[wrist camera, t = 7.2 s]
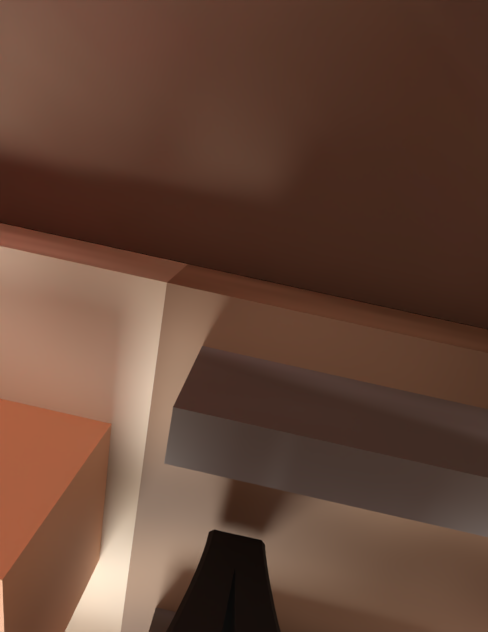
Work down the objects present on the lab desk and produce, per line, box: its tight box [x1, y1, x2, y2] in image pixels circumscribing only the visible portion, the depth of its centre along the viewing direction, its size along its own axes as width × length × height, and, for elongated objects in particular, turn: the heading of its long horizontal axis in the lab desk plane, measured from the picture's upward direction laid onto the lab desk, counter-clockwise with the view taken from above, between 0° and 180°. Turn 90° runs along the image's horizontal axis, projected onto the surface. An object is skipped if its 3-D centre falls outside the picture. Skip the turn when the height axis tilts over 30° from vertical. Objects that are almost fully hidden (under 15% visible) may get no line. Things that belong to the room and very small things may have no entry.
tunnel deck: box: [0, 223, 488, 632], centre depth 10 cm, size 13×28×4 cm, turn 79°
